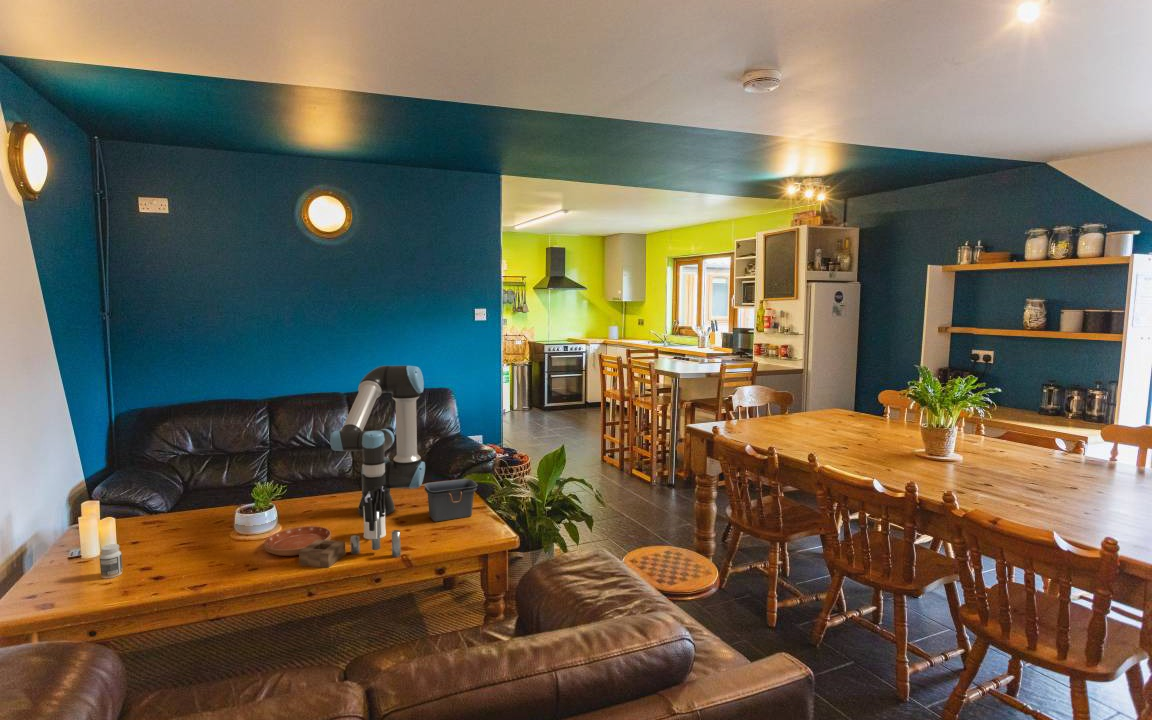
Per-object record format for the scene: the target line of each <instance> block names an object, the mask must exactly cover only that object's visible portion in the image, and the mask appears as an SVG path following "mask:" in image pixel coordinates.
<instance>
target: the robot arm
mask: <svg viewBox="0 0 1152 720" xmlns="http://www.w3.org/2000/svg"><path fill="white" fill-rule="evenodd" d="M424 385H425V382H424V376H423V372H422V370H421V368H420V367H418V366H415V365H382V366H381V365H380V366H377V367H376V368H374V369H372V370H371V371H369V372H368V373H367V374H366V375H365V376H364V377H362V379H361V381H360V383H359V385H358V388H357V390H358V393H357V395H356V397H355V399H354V402H353V403H352V406H351V409H350V411H349V413H348V415H347V417H346V419H345V420H344V423H343V426H342V427H341V430H339V429H338V430H334V431H333V432H331V435H330V439H329V443H330V447H331V450H333V451H337V452H338V451H339V452H362V465H361V472H360V475H361V498H360V501H359V505H358V509H357V510H358V512H357V513H358V515H359V516H361V517H364V511H365V522H369V539H368V540H372V539H377V521H376V510H379V512H380V535H382V517H384V515H385V516H387V515H390V514H392V513H393V512H395V503H394V500H393V496H392V495H391V489H398V490H400V489H403V490H405V489H408V490H412V489H419V488H420V487H421V486H422V484H423V481H424V478H425V472H426V462H425V461H422V457H421V456H420V455H419V453H418V439H417V438H418V436H417V434H418V432H417V431H418V430H417V429H418V428H417V425H418V423H417V422H418V421H417V400H418V399H419V398H420V395H421V394H422V393H424V388H425V387H424ZM385 393H388V394H391V398H392V399H393V400H394V401H395V429H396V430H395V431H396V432H395V433H396V455H395V456H394V457H393V459H392V461H391V460H390V457H386V456H385V455H386V454H385V453H386V451H387V450H389V449H390V448H391V447H392V446H393V444H394V442H395V434H394V433H393V431H391V429H388V428H381V429H379V430H365V429H364V428H365V427H366V424H367V422H368V419H369V418H370V415H371V413H372V410H373V407H374V405H375V404H376V401H377V399H378V398H379V397H381V395H382V394H385ZM383 513H385V514H383Z"/></svg>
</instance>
